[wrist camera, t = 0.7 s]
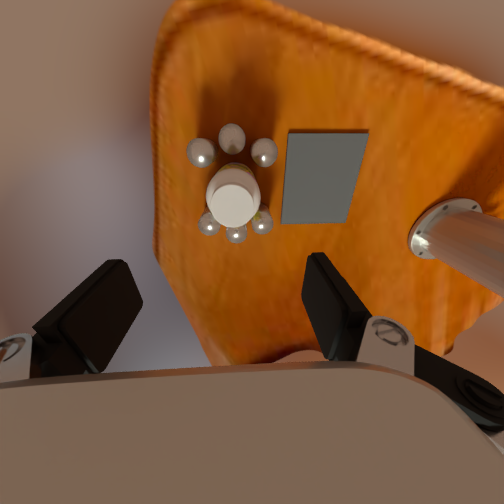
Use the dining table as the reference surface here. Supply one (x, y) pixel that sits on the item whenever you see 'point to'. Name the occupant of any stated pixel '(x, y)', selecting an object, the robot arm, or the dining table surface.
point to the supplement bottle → (233, 195)
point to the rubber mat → (321, 176)
